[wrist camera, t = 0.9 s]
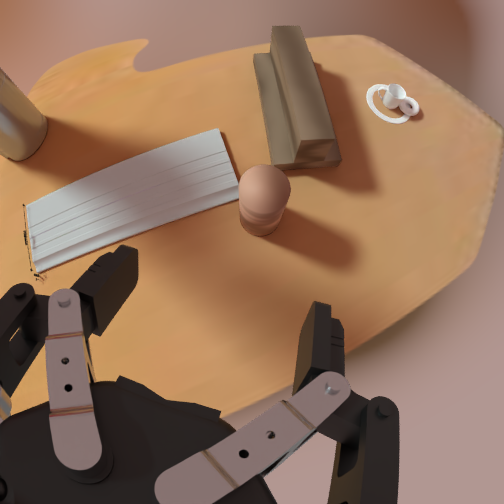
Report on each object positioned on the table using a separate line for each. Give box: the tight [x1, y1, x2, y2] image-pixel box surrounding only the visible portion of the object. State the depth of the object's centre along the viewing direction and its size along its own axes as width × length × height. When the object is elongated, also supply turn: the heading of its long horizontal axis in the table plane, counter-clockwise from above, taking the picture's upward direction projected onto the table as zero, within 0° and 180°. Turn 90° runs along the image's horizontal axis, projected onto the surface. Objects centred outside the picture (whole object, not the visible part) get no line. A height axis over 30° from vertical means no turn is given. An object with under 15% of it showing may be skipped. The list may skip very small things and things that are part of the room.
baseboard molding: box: [23, 128, 239, 280], centre depth 40 cm, size 31×3×12 cm
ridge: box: [253, 26, 342, 170], centre depth 40 cm, size 9×20×8 cm, turn 7°
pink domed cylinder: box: [239, 165, 291, 236], centre depth 36 cm, size 5×5×10 cm
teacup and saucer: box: [367, 84, 420, 124], centre depth 43 cm, size 9×8×4 cm
